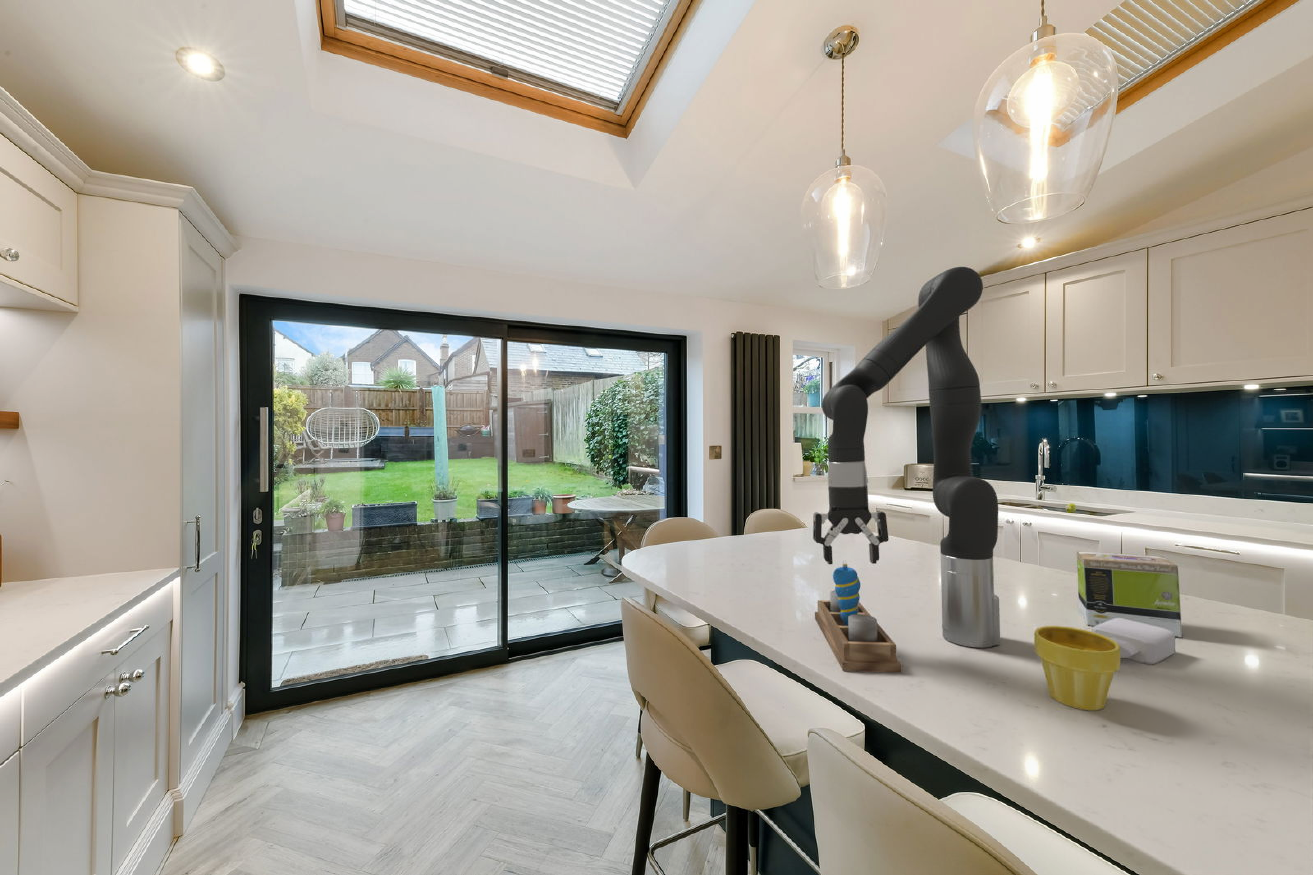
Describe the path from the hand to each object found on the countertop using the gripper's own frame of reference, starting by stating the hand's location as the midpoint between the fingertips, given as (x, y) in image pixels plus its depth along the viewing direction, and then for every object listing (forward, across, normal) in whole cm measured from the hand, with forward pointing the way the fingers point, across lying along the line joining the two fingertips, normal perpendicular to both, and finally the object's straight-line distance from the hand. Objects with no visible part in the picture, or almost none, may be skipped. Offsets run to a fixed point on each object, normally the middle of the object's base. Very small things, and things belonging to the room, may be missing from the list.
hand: (851, 563), depth 104 cm
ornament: (+15, +1, 0) cm, 15 cm away
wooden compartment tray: (+16, 0, 0) cm, 16 cm away
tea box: (+18, -60, -14) cm, 64 cm away
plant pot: (+17, -28, +21) cm, 39 cm away
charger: (+18, -48, +2) cm, 51 cm away
